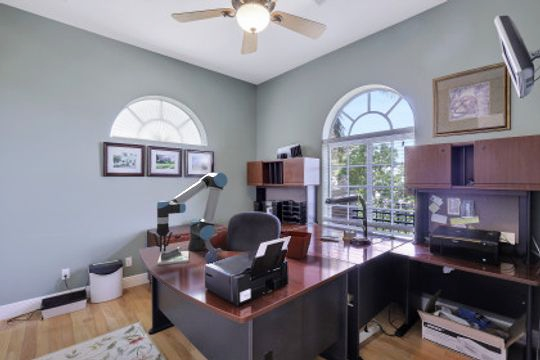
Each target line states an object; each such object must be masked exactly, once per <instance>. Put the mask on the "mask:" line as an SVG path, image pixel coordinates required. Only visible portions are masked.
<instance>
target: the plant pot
mask: <svg viewBox="0 0 540 360" xmlns="http://www.w3.org/2000/svg"><path fill="white" fill-rule="evenodd" d="M312 235H313V234H312V232H308V231H307V232H306V231H297V230H287V231H286V232H284V233H281V234H279V236H280V239H281V238H283V237H287V236H291V240H290V243H289V246H288V252H287V255H286V256H285V257H286V258H290V259H291V258H293V259H297V260H302V259H304V258H305V256H307V254H308V252H309V248H310V245H311V239H312Z"/></svg>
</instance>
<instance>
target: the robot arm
mask: <svg viewBox="0 0 540 360" xmlns="http://www.w3.org/2000/svg"><path fill="white" fill-rule="evenodd" d="M226 185H228V177H227V175H226V173H223V172H220V171H217V172H215V171H214V172H209V173H207V174H205V175H204V176H203V177H201V178H200V179H198V182H196V183H195V184H192V186H190V187H189V188H187V189H186V190H184V191H183V192H181V193H179V195H177V196H175V197H174V198H172V199H171V200H159V201H157V203H156V214H157V215H156V221H157V222H156V223H157V224H156V225H157V226H156V230H155V232H153V233H152V235H153V237H154V240H155V245H156V247H157V248H158V247H159V252H160V254H163V253H165V252H167V247H168V246H169V244H170V239H171V236H172V235H173V232H172V231H171V230H170V228H169V227H170V226H169V225H170V223H169V220H170V217H169V216H170V215H172V214H175V215H176V214H183V213H185V212H186V210H187V206H186V202H188V201H189V200H191V199H192V198H193V197H195V196H196V195H198V194H199V193H200V192H202V191H204V190H207V189H209V192H208V196H207V200H206V204H205V208H204V212H203V216H202V219H200V220H193V221H190V224H189V232H190V233H189V242H188V245H187V251H192V252H197V251H198V252H201V251H204V250H206V249H207V247H206V242H207V240H208V239H209V237H211V236H213V235H215V234H216V228H215V221H214V220H215V215H216V212H217V208H218V203H219V198H220V195H221V192H223V190H224V187H226ZM167 235H168V238H167ZM158 236H159V239H158ZM215 236H216V235H215ZM212 238H214V237H212ZM212 238H211V239H212Z"/></svg>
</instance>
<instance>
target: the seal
mask: <svg viewBox="0 0 540 360" xmlns="http://www.w3.org/2000/svg"><path fill="white" fill-rule="evenodd" d="M218 234H219V233H215V235H213V236H211V237H209V239H208V240H206V247H207V248H206V249H207V250H208V252H206V254H205V256H204V259H205V261H206V262H207V263H209V264H212V263H211V262H214V263H216V261H217V260H218V253H223V250H222V248H221V247H217V248H215V247H213V245H212V244H211V241H210V240H211V239H212V237H213V238H214V237H215V236H217V235H218Z"/></svg>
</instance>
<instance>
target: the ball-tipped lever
mask: <svg viewBox="0 0 540 360" xmlns="http://www.w3.org/2000/svg"><path fill="white" fill-rule="evenodd" d="M181 252H182V246H177V247H175V248H174V249H170V250H168V251H165V252H164V253H163V254H161V253H160V254H161V260H165V259H167V258H170V257H172V256H175V255H177V254H181Z"/></svg>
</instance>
